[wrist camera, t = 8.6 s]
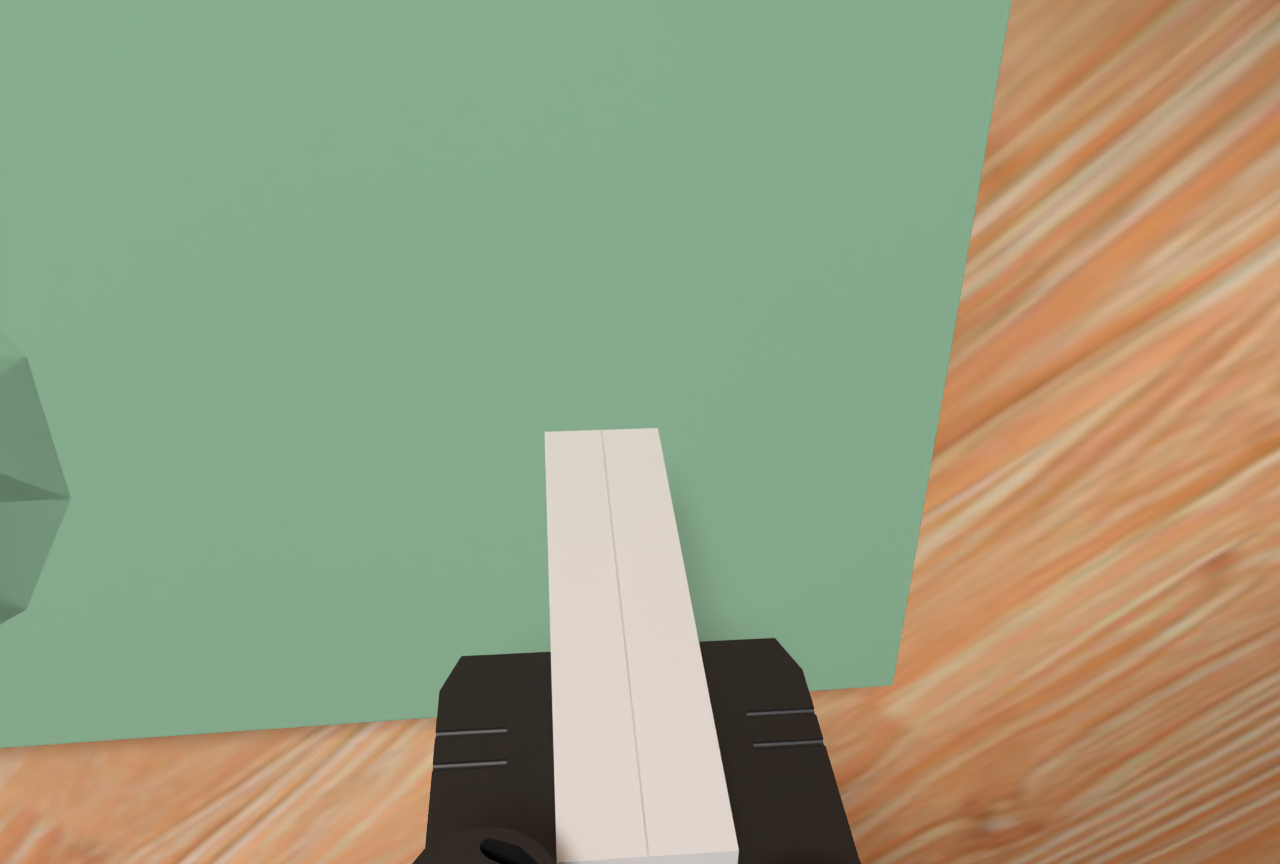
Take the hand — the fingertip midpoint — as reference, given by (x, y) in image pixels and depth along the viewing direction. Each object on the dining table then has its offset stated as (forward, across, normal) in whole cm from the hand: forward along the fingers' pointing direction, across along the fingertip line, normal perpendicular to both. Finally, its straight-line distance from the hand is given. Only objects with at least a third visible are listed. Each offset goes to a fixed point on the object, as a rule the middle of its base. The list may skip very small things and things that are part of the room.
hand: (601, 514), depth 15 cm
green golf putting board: (+7, -7, -1) cm, 10 cm away
